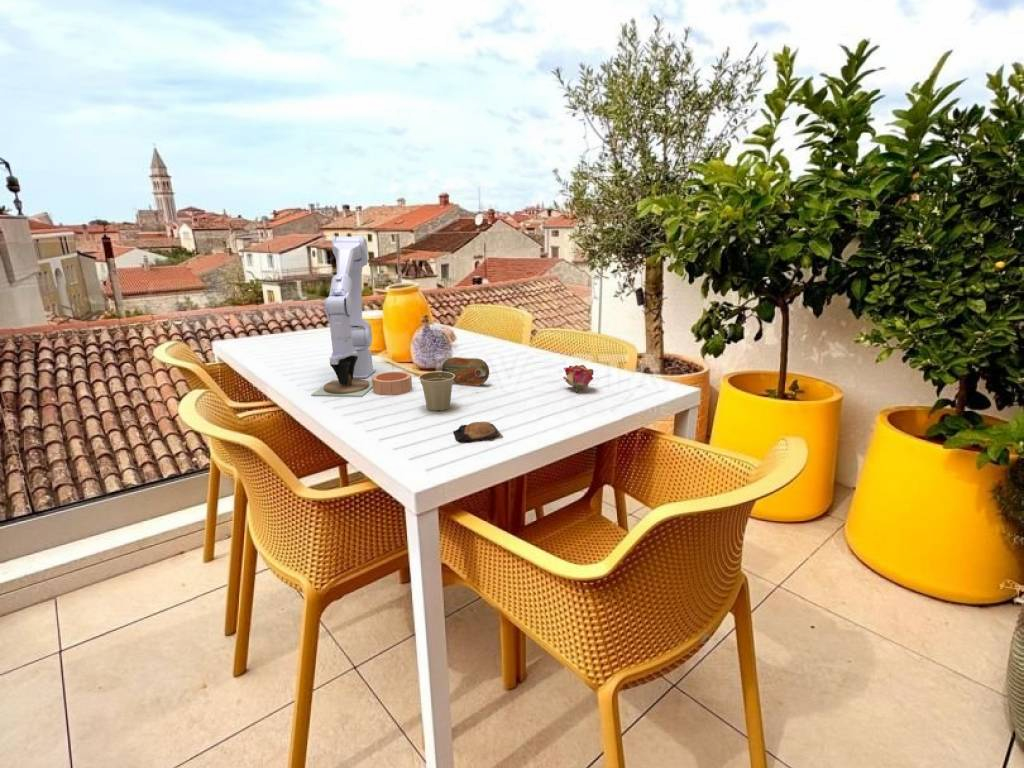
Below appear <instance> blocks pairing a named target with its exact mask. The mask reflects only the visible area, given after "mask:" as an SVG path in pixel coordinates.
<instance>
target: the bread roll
mask: <svg viewBox="0 0 1024 768" xmlns="http://www.w3.org/2000/svg"><path fill="white" fill-rule="evenodd" d="M452 434H453V435H454V439H455V441H456V442H458V443H459V444H471V443H479V442H487V441H494V440H499V439H503V438H504V435H503V433H501V432H500V430H498V428H497V427H496V426H495V425H494V424H493V423H490V422H489V421H474V422H470V423H469V424H463V425H462V424H461V425H459V427H458V428H457V429H456V430H453V432H452Z"/></svg>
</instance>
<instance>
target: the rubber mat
mask: <svg viewBox="0 0 1024 768" xmlns="http://www.w3.org/2000/svg"><path fill="white" fill-rule="evenodd" d="M336 380H337V379H332V380H331V381H330V382H332V381H336ZM366 381H368V382H369V387H368V388H367V389H365V390H362V391H359V392H355V393H348V394H332V393H328V392H325V391H324V385H323V386H322V387H320V388H319V389H316V391H314V392H312V393H311V394H310V395H311V397H345V398H346V397H351V398H352V397H354V398H355V397H356V398H359V397H360V398H363V397H364V396H365V395H366V394H367V393H368V392H370V391H371V390H373V384H372V380H366Z"/></svg>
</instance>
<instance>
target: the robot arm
mask: <svg viewBox="0 0 1024 768" xmlns="http://www.w3.org/2000/svg"><path fill="white" fill-rule="evenodd" d="M368 249H369V248H368V242H367V239H366V237H365V236H364V235H361V236H337V235H334V236H333V238H332V239H331V250H332V254H333V255H334V257H335V260H336V261H337V262H336V274H335V275H333V276H332V278H331V283H330V289H329V294H328V297H326V298H325V299H324V310H325V314H326V317H327V322H328V323H329V331H330V339H331V347H332V353H331V356H330V357H329V365H330V367H331V368H332V369H333V371H334V372H335V375H336V378H337V380H339V383H340V384H348V374H351V381H352V379H367V378H369V377H370V376H371V375H372V374H373V373H374V372H376V371H377V370H376V369H374V367H373V357H372V355H373V354H372V351H371V349H370V348H371V346H372V344H373V332H372V326H371V324H370V323H369V321H367V320H365V319H364V318H363V294H362V293H363V291H362V290H363V289H362V288H363V287H362V286H363V282H362V279H363V278H362V277H363V276H362V274H363V273H362V272H363V267H365V266H367V265H368V260H369V256H368V255H369V251H368Z"/></svg>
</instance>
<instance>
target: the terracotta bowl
mask: <svg viewBox="0 0 1024 768" xmlns="http://www.w3.org/2000/svg"><path fill="white" fill-rule="evenodd" d="M371 381H372V384H373V388H372V391H373V392H374V394H377V395H380V396H395V395H402V394H406V393H408V392H409V393H410V391H411V390H412V389H413V382H412V374H410V373H409V372H406V371H385V372H379V373H377V374H374V375H373V376H372V377H371Z"/></svg>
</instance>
